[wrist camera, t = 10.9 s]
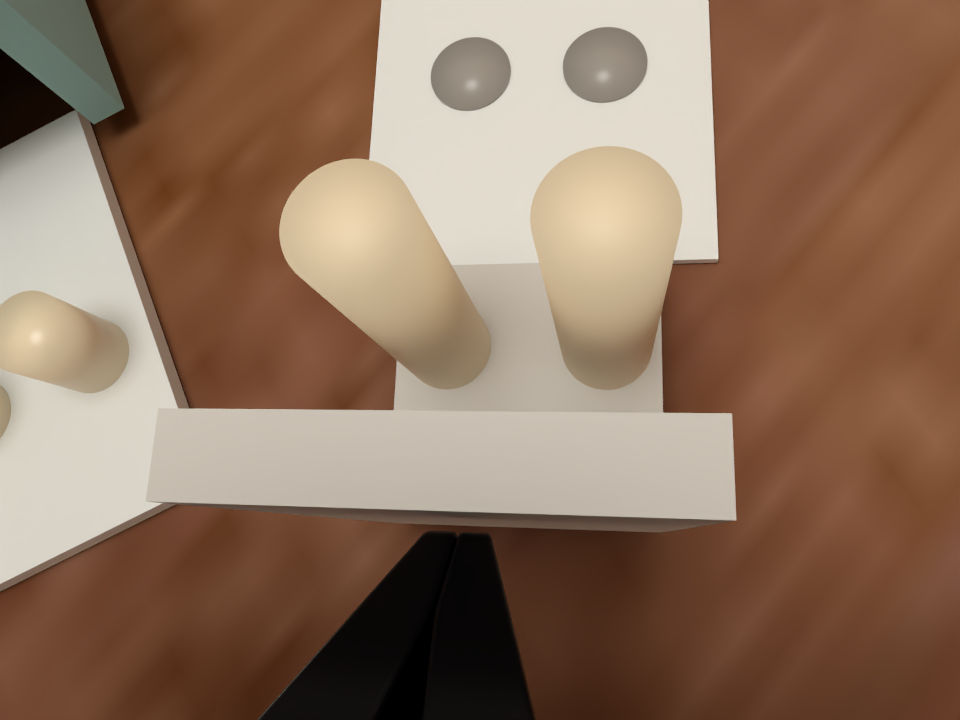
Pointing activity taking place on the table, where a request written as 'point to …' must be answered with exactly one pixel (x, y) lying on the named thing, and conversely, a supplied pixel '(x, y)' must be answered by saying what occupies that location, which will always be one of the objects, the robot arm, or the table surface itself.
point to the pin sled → (479, 370)
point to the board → (53, 428)
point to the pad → (540, 109)
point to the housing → (61, 52)
